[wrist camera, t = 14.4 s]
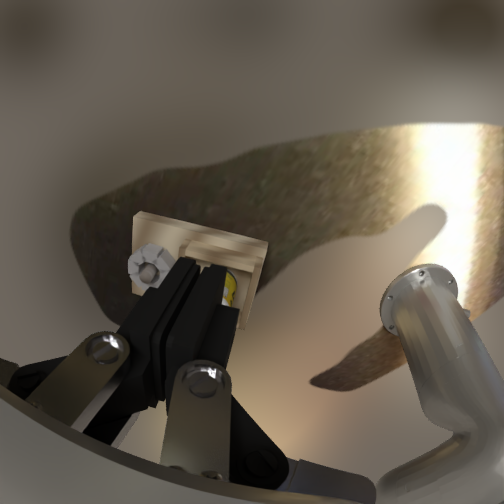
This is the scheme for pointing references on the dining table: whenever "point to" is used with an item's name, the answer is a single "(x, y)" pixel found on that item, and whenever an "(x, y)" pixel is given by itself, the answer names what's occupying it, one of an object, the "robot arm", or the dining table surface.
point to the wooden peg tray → (203, 253)
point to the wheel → (153, 256)
